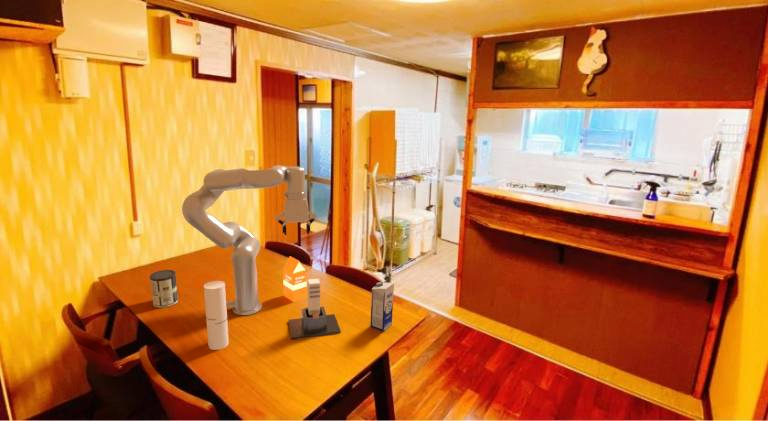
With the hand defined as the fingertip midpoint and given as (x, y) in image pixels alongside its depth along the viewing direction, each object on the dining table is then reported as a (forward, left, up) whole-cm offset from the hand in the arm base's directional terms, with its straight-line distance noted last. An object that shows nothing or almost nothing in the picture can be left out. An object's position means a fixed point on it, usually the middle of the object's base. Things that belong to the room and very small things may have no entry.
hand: (296, 233), depth 166 cm
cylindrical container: (-32, -21, -36) cm, 53 cm away
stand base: (+5, -18, -36) cm, 41 cm away
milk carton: (+33, -24, -36) cm, 55 cm away
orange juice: (0, +12, -36) cm, 38 cm away
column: (+5, -18, -29) cm, 35 cm away
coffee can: (-58, +20, -36) cm, 71 cm away
